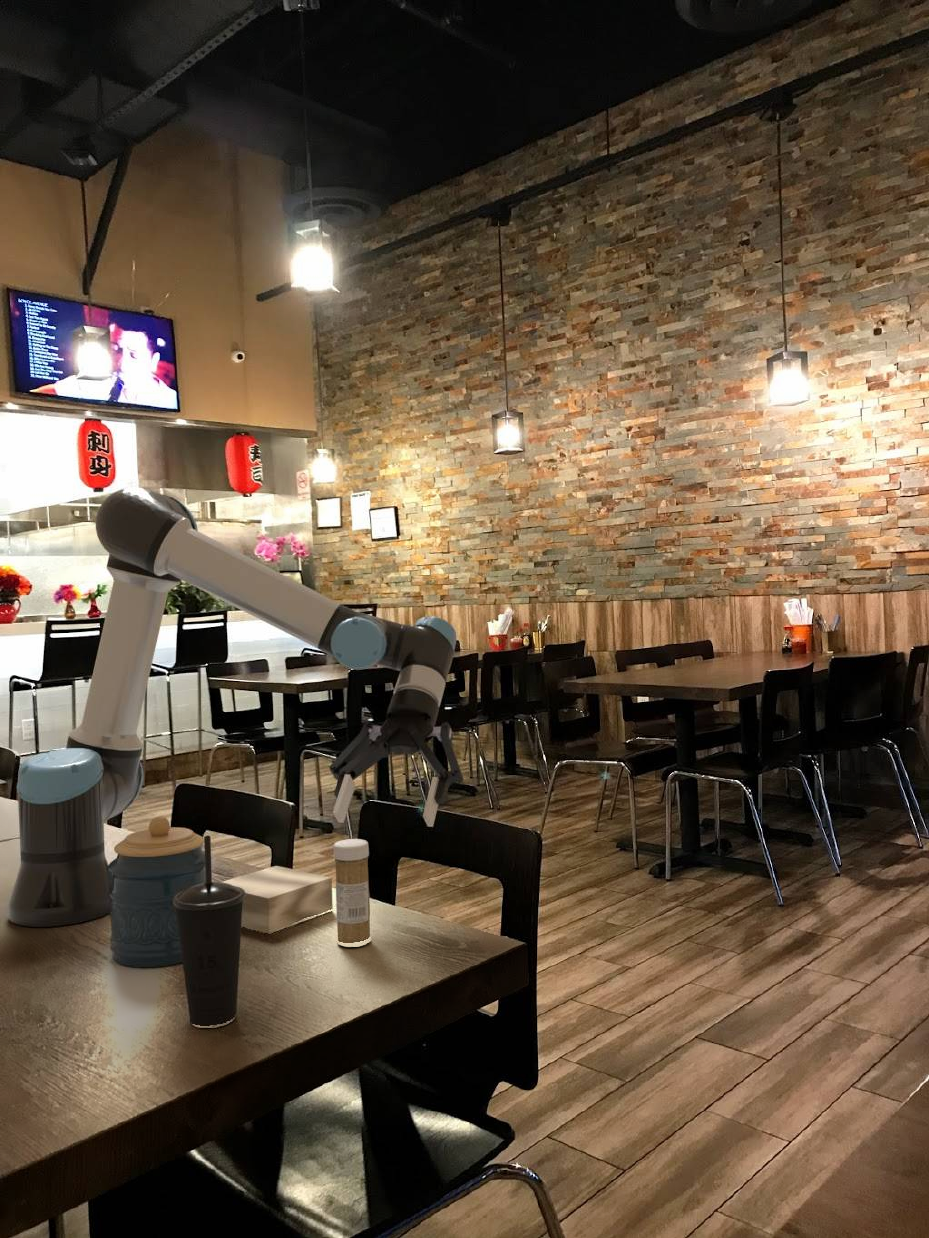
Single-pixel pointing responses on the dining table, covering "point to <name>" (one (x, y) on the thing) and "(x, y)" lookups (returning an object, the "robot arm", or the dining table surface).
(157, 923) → the canister
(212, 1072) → the dining table surface
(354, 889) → the sprinkles bottle
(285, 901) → the maple block
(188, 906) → the drinking cup
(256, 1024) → the dining table surface
